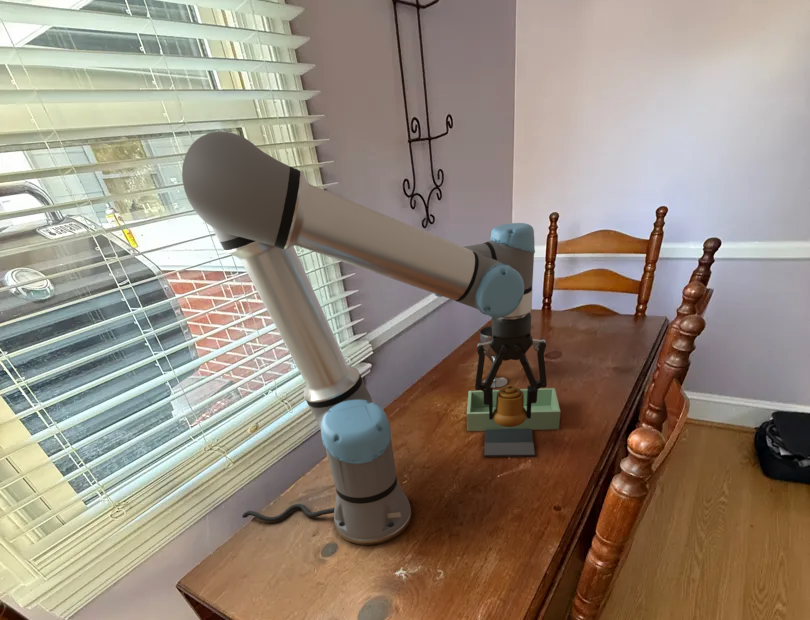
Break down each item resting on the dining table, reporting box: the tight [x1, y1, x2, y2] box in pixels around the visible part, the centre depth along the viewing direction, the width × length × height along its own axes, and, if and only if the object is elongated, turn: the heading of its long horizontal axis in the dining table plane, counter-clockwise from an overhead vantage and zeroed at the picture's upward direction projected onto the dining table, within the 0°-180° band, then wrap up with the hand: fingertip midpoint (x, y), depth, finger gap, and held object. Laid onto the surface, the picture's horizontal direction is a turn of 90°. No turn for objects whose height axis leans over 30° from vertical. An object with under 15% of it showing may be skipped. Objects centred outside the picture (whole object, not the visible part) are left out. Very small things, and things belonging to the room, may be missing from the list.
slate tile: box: [483, 429, 536, 458], centre depth 110 cm, size 11×11×1 cm
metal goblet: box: [479, 325, 509, 389], centre depth 132 cm, size 8×8×15 cm
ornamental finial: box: [493, 384, 527, 427], centre depth 104 cm, size 8×8×8 cm
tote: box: [466, 387, 561, 432], centre depth 118 cm, size 22×12×5 cm, turn 82°
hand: (509, 415), depth 106 cm, fingers closed on ornamental finial, 7 cm apart
